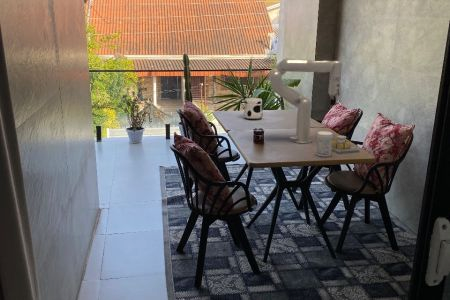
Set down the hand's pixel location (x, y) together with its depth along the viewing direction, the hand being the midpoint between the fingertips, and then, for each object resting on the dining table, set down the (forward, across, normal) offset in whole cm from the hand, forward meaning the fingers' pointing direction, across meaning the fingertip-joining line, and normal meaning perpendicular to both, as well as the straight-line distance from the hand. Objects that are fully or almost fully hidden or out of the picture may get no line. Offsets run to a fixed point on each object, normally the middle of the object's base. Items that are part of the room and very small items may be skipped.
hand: (332, 104), depth 311 cm
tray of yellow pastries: (+27, -22, +3) cm, 34 cm away
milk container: (+28, +93, +29) cm, 101 cm away
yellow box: (+25, -19, +2) cm, 32 cm away
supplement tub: (+27, -32, +21) cm, 47 cm away
